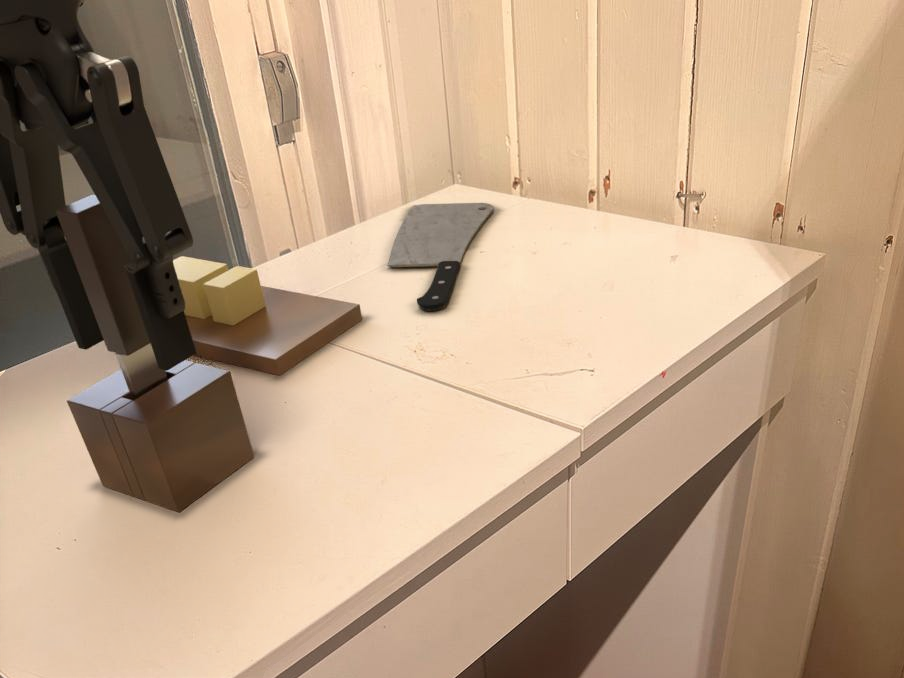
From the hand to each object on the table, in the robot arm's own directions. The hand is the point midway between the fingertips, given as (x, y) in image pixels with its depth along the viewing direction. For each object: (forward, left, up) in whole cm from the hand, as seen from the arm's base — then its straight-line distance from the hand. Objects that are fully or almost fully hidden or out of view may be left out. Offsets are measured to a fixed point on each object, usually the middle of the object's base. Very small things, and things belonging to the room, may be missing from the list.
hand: (136, 350), depth 62 cm
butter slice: (-13, +21, -8) cm, 26 cm away
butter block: (-18, +21, -8) cm, 29 cm away
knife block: (0, 0, -10) cm, 10 cm away
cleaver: (-6, +43, -10) cm, 44 cm away
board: (-13, +21, -10) cm, 26 cm away
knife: (0, 0, -10) cm, 10 cm away
